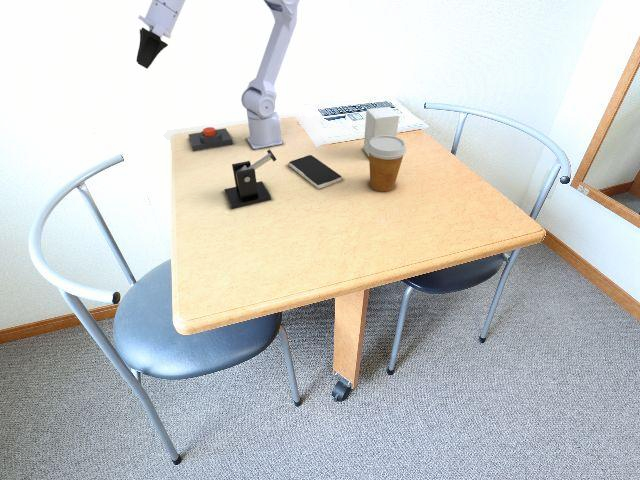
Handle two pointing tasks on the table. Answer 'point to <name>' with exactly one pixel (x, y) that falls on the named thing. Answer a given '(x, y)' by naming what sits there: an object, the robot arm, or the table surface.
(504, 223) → the table surface
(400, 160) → the disposable coffee cup
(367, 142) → the white packaging box
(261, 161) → the lever
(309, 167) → the smartphone
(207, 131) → the button
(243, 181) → the bracket
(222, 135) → the button box
